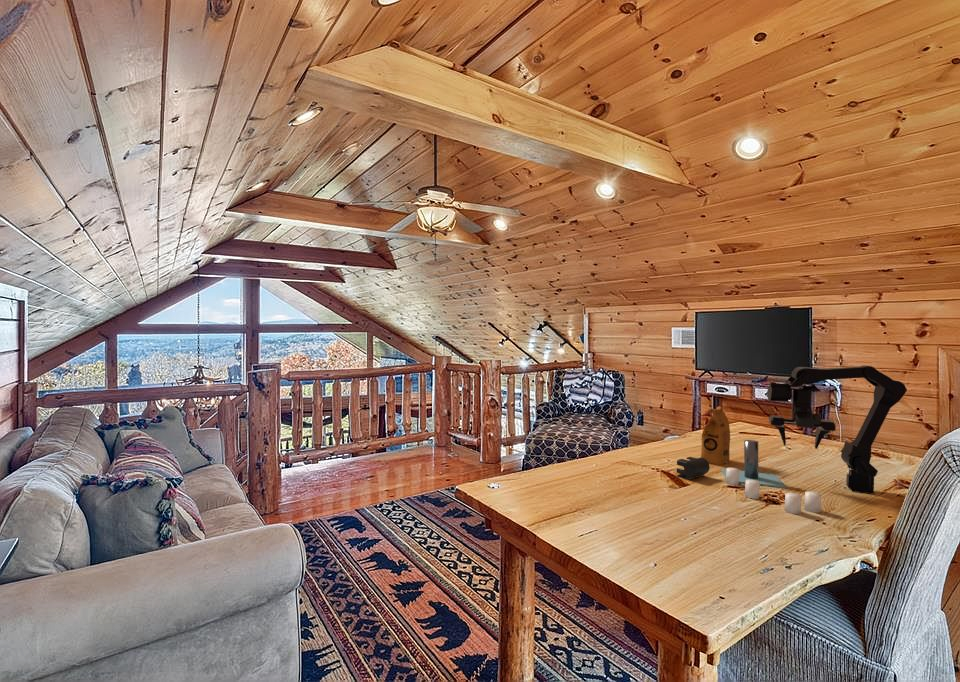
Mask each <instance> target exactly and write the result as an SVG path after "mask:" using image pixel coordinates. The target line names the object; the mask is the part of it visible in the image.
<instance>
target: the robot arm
mask: <svg viewBox="0 0 960 682" xmlns="http://www.w3.org/2000/svg"><path fill="white" fill-rule="evenodd" d="M861 378H863V379H865V380H866V381H867V382H868V383H869V384H871V385H872V386H873V387H874V390H873V403H872V404H871V407H870V408H869V410H868V412H867V415H866V416H865V419H864V420H863V423H862V425H861V427H860V428H859V430H858V433H857V435H856V437H855V439H854V440H852V441H851V442H848V441H845V442H844V444H843V447H842V449H840V451H839V452H840V453H841V454H840V458H841V460H842V461H843V462H844V463H845V464H846V465H847V468H848V473H846V481H845V485H847V486H848V487H847V486H846V487H847V488H848V489H849V490H850V491H851V490H852V492H855V491H859V492H858V493H863V492H867V493H866V494H870V493H876V491H875V490H874V489H875V477H877V474H878V473H879V470H878V469H877V468H875V466H874V465H872V464H871V459H872V446H873V443H874V441H876V440H875V439H876V438H877V436H878V433H879V431H880V430H881V428H882V426H883V424H884V422H885V420H886V418H887V416H888V414H889V412H890V410H891V408H893V407H894V406H895V405H897V404H898V403H899V402H900V400H902V399H903V397H904V396H905V395H906V392H907V387H906V385H905V384H904V383H903V382H902V381H899V380H894V379H892V378H891V377H890V376H888V375H886V374H884V373H882V372H881V371H880V370H878V369H876V368H875V367H874V366H872V365H867V364H866V365H860V366H857V365H856V366H846V367H830V368H817V367H807V366H797V367H795V368H794V369H793V370H792V372H791V375H790V376H789V377H788V378H787V379H786V380H785V382H774V381H770V382H769V385H768V388H767V390H766V397H767V400H768V401H769V402H779V403H780V402H782V403H788V402H789V401H791V400H792V401H791V402H792V403H791V418H785V417H783V416H782V415H773V414H771V415H770V416H769V417H768V422H769V425H771V426H773V427H774V428H776V429H777V430H778V432H779V434H780V438H781V441H782V443H783V446H785V447H786V443H787V441H786V438H787V437H786V427H785V425H792V426H793V425H795V426H796V427H797V428H807V429H814V428H816V431H815V440H814V449H815V450H818V447H819V445H820V443H822V442H821V441H822V440H823V439H824V437H825V436H826V435H827V434H830V433H831V432H836V427H837V425H836V423H835V422H833V420H831V419H822V414H821V413H813V392H821V389H820V388H818V387H817V386H816V384H817V383H821V382H824V381H827V380H829V381H831V380H832V381H833V380H847V379H861Z"/></svg>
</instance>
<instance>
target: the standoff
mask: <svg viewBox="0 0 960 682" xmlns="http://www.w3.org/2000/svg"><path fill="white" fill-rule="evenodd" d="M743 443H744V444H743V445H744V448H743V450H744V454H743V455H744V457H743V458H744V460H743V463H744V466H743V467H744V469H743V471H744V476H745V477H746V478H750V479H758V473H759V441H758V440H755V439H744V441H743Z"/></svg>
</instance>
